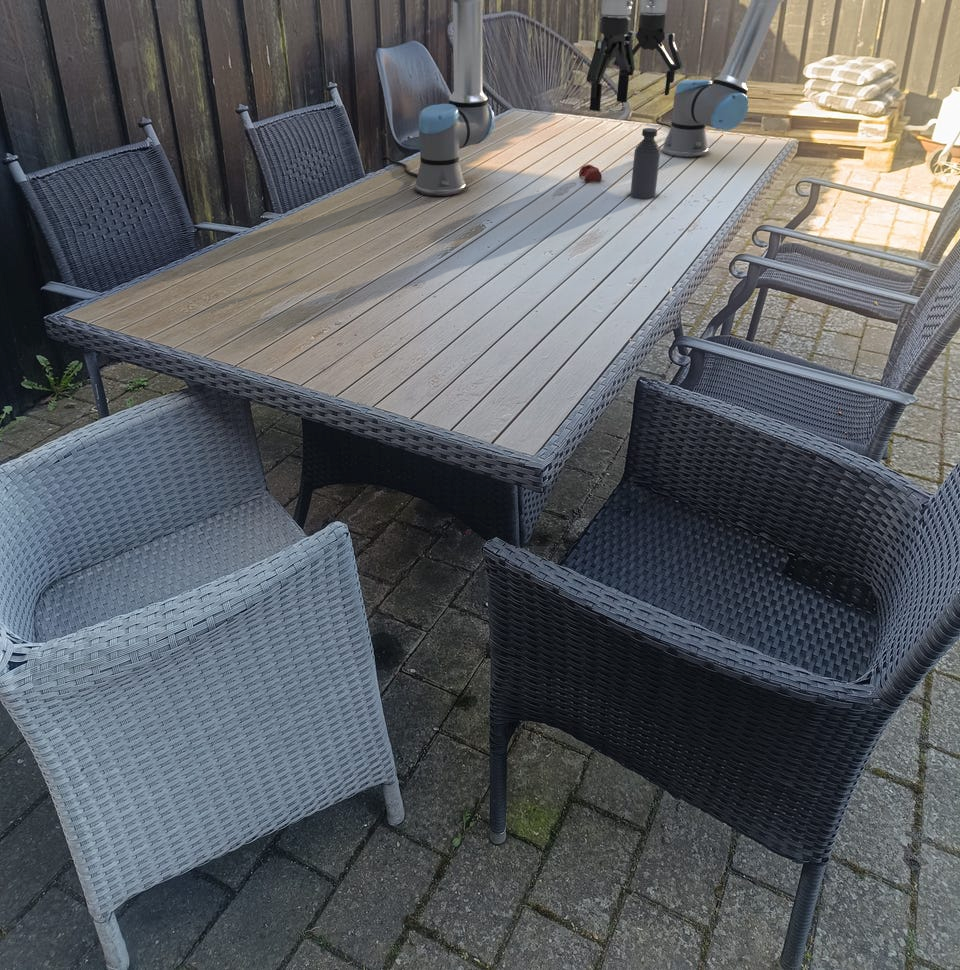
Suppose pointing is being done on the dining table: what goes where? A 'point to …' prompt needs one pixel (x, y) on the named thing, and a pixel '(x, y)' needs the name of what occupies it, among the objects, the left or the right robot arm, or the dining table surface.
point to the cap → (649, 132)
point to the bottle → (645, 169)
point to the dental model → (590, 173)
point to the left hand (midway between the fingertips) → (608, 106)
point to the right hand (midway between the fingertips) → (644, 92)
